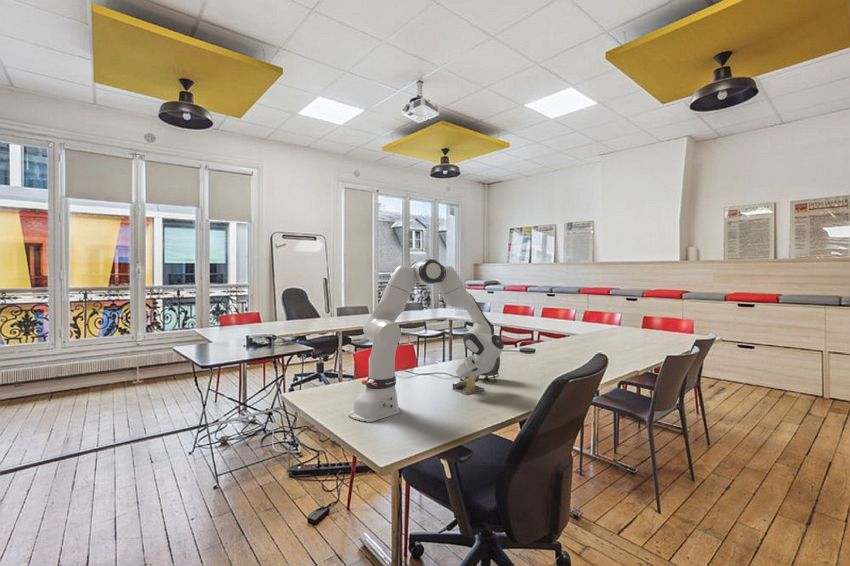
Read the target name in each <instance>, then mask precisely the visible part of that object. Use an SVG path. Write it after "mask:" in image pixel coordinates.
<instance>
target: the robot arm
mask: <svg viewBox="0 0 850 566" xmlns="http://www.w3.org/2000/svg"><path fill="white" fill-rule="evenodd" d="M431 284H434V285H435V286H436V287H437V288H438V291H439V293H440V295H441V297H442V299H443V301H444V302H445V304H446V305H447V306H449V307H451V308H464V309H465V310H466V311H467V313H468V315H469V316H470V319H471V320H472V321H473V326H471V328H470V329H468V331H466V333H464V335H463V336H462V342H463V345H464V346H465V348H466V349H468V351H470V352H471V353H472V352H473V353H474V354H473V355H472V354H471V355H469V356H467V357H465V358H464V359H463V362H461V363H460V364H459V366H458V367H457V368H456V370H455V373H456V375H457V377H458V378H459V379H462V381H463V380H465V379H466V378H467V376H472V375H475V377H477V378H478V376H481V375H480V374H482V373H487V372H490V371H491V370H492V369H493V367H494V365H495V364H494V363H495V362H496V359H497V358H498V356H499V355H500V356H501V354H502V352H503V350H504V346H505V345H504V341H503V338H501V336H499V335H497V334H495V327H494V325H493V324H492V323H491V321H490V320H489V319H487V317H486V316H485V314H484V312H483V311H482V308H481V307H480V306H479V305H480V304H479V303H478V302H477V301H476V299H475V298H474V296H473V295H472V294H471V293H470V292H468V290H467V289H466V287H465V285H464V284H463V281H462V279H461V278H460V276H459V274H458V272H457V271H456V270H455V268H454V267H453V266H451V265H442V263H440V262H439V261H438V260H436V259H433V258H432V259H431V258H429V259H421V260H419V261H416V262H414V263H412V264H411V265H410V266H408V265H405V264H404V265H398V266H397V267H396V268H395V269H394V271H393V272H392V274H391V276H390V277H389V280H388V282H387V284H386V286H385V289H384V290H383V293H382V295H381V297H380V300H379V302H378V303H377V305H376V307H375V308H374V310H373V312H372V313H371V315H370V316H369V318H368V319H367V320H365V322H364V324H363V327H362V330H363V331H362V332H363V334H364V336H365V338H366V339H367V340H368V341H370V342H371V343H372V347H371V350H370V351H371V352H370V355H369V357H368V377H367V379H361V384H362V385H365V387H364V389H363V390H362V391H361V392H360V393H359V395H358V396H357V397H355V400H354V403H353V409H352V410H350V411H349V412H348V413H347V416H348V417H349V416H350V417H351V419H353V420H355V419H356V420H355V421H359V420H360V421H361V422H364V421H366V423H372V422H376V421H379V420H382V419H385V418H388V417H391V416H395V415H398V414H400V413H401V410H400V406H399V400H398V393H397V388H396V384H397V378H396V377H397V376H396V371H395V370H396V369H395V367H396V366H395V360H396V353H397V347H398V343H400V340H401V339H402V330H401V328H400V326H398V324H397V323H395V322H396V321H397V319H398V317H400V315H401V314H402V313H403V312H404V311H405V308H406V306H407V303H408V302H409V298H410V296H411V293H412V291H413V288H414V287H415V285H425V286H426V285H431ZM350 417H349V418H350Z"/></svg>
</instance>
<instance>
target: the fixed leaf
mask: <svg viewBox="0 0 850 566" xmlns="http://www.w3.org/2000/svg"><path fill="white" fill-rule="evenodd" d="M454 390H455V392H457V393H459V392H460V394H462V395H464V394H465V396H466V394H467V395H470V394H474V393H479V392H485V387H480V386H479V385H476V384H475V389H472V390H466V389H464V388H463V380H462V381H458V382H453V383H452V391H454Z"/></svg>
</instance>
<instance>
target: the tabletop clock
mask: <svg viewBox="0 0 850 566" xmlns="http://www.w3.org/2000/svg"><path fill="white" fill-rule="evenodd" d="M473 354H474V353H473V352H471V356H472V355H473ZM500 356H501V354H500V355H499V356H498V358H497V359H496V362H495V363H494V364H495V365H494V367H493V369H492V370H491V371H490V372H487V373H482V374H480V375H479V376H484V379H486V380H488V379H489V376H490V377H491V376H492V377H493V381H494V382H497V381H498V380H497V378H496V377H495V376H497V374H498V372H499V370H500V366H501V357H500Z"/></svg>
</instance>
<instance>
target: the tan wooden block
mask: <svg viewBox="0 0 850 566" xmlns="http://www.w3.org/2000/svg"><path fill="white" fill-rule="evenodd" d="M462 381H463V388H464V389H466V390H472V389H475V385H476V380H475V375H472V376H467V378H466V379H465V380H462Z"/></svg>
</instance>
